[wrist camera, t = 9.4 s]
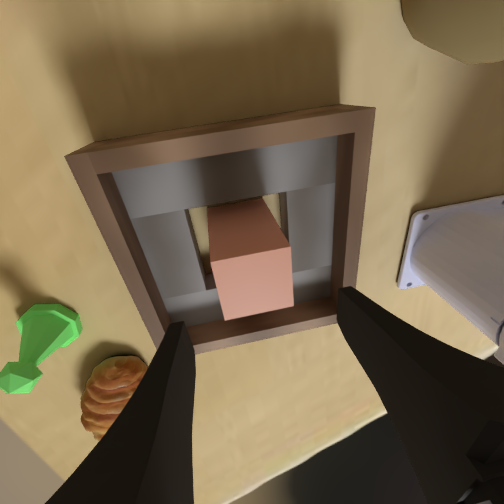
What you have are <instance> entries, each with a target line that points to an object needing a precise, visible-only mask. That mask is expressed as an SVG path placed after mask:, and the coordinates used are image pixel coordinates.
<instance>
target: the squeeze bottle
mask: <svg viewBox="0 0 504 504" xmlns="http://www.w3.org/2000/svg"><path fill="white" fill-rule="evenodd" d="M401 2H402V11H403V19H404V22H405V24H406V26H407V28H408V29H409V31H410V33H411V35H412V37H413V38H414V39H416V40H417V41H419V42H421V43H422V44H424V45H426V46H428V47H430V48H432V49H434V50H436V51H439V52H441V53H443V54H445V55H448V56H450V57H452V58H454V59H457V60H459V61H461V62H463V63H466V64H480V63H495V62H500V61H504V0H401Z"/></svg>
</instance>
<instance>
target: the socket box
mask: <svg viewBox="0 0 504 504" xmlns="http://www.w3.org/2000/svg"><path fill="white" fill-rule="evenodd" d="M375 110H376V108H375V107H364V106H354V105H343V104H338V105H332V106H325V107H319V108H312V109H306V110H299V111H293V112H286V113H280V114H273V115H267V116H260V117H254V118H247V119H241V120H234V121H228V122H221V123H215V124H208V125H202V126H195V127H189V128H182V129H175V130H169V131H162V132H156V133H149V134H143V135H136V136H130V137H123V138H117V139H110V140H104V141H97V142H93V143H91V144H89V145H87V146H85V147H83V148H80V149H78V150H76V151H74V152H72V153H70V154H68V155H66V156H64V157H65V159H66V161H67V163H68V165H69V167H70V169H71V171H72V173H73V175H74V177H75V180H76V182H77V184H78V186H79V188H80V190H81V192H82V194H83V196H84V198H85V200H86V203H87V205H88V207H89V209H90V211H91V213H92V215H93V217H94V219H95V221H96V223H97V226H98V228H99V230H100V232H101V234H102V236H103V238H104V240H105V242H106V244H107V246H108V248H109V251H110V253H111V255H112V257H113V259H114V261H115V263H116V265H117V267H118V269H119V271H120V274H121V276H122V278H123V280H124V282H125V284H126V286H127V288H128V290H129V292H130V294H131V297H132V299H133V301H134V303H135V305H136V307H137V309H138V311H139V313H140V315H141V317H142V320H143V322H144V324H145V326H146V328H147V330H148V332H149V334H150V336H151V338H152V340H153V343H154V345H155V347H156V349H158V347H159V345H160V343H161V341H162V339H163V337H164V335H165V332H166V330H167V328H168V326H169V324H171V323H175V322H180V321H184V323H185V325H186V328H187V331H188V334H189V336H190V339H191V342H192V345H193V347H194V350H195V354H200V353H204V352H209V351H213V350H218V349H222V348H227V347H231V346H236V345H241V344H245V343H250V342H254V341H259V340H263V339H268V338H272V337H277V336H281V335H286V334H290V333H295V332H299V331H304V330H309V329H313V328H318V327H322V326H327V325H331V324H336V323H338V322H337V320H336V317H337V302H338V288H343V287H348V286H352V287H353V288H355V289H356V280H357V271H358V262H359V253H360V245H361V236H362V227H363V218H364V209H365V200H366V191H367V182H368V173H369V164H370V155H371V146H372V137H373V128H374V119H375ZM275 193H279V196H280V211H281V225H282V232H283V234H284V236H285V237H286V239H287V241H288V243H289V244H290V246H291V259H292V279H293V299H294V306H292V307H287V308H282V309H278V310H273V311H268V312H263V313H259V314H254V315H249V316H244V317H240V318H235V319H230V320H226V321H225V319H224V315H223V311H222V307H221V303H220V299H219V295H218V291H217V287H216V283H215V279H214V275H213V273H212V274H207V275H206V274H205V270H204V266H203V263H202V259H201V255H200V251H199V248H198V244H197V240H196V236H195V233H194V229H193V225H192V221H191V218H190V214H189V210H188V209H190V208H196V207H201V206H207V205H213V204H218V203H224V202H230V201H235V200H241V199H247V198H252V197H258V196H263V195H269V194H275Z"/></svg>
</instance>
